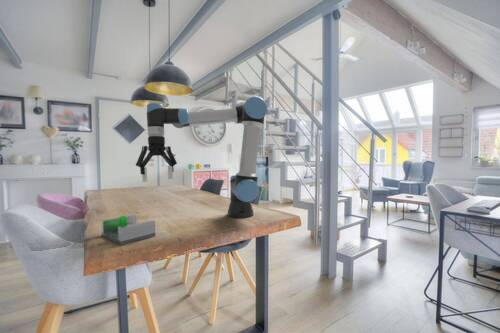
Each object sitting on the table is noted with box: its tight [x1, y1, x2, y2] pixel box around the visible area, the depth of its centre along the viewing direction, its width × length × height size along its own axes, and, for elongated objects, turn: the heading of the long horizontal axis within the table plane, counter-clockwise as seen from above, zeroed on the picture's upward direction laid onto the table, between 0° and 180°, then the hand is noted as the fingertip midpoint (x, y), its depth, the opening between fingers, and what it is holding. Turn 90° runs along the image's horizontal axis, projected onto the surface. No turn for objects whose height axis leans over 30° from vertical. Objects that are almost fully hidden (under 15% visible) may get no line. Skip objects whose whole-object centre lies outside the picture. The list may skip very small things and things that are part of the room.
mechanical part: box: [118, 215, 132, 227], centre depth 101 cm, size 12×6×8 cm, turn 34°
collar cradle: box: [100, 213, 156, 246], centre depth 102 cm, size 19×14×6 cm
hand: (158, 180), depth 116 cm, fingers open, 13 cm apart
